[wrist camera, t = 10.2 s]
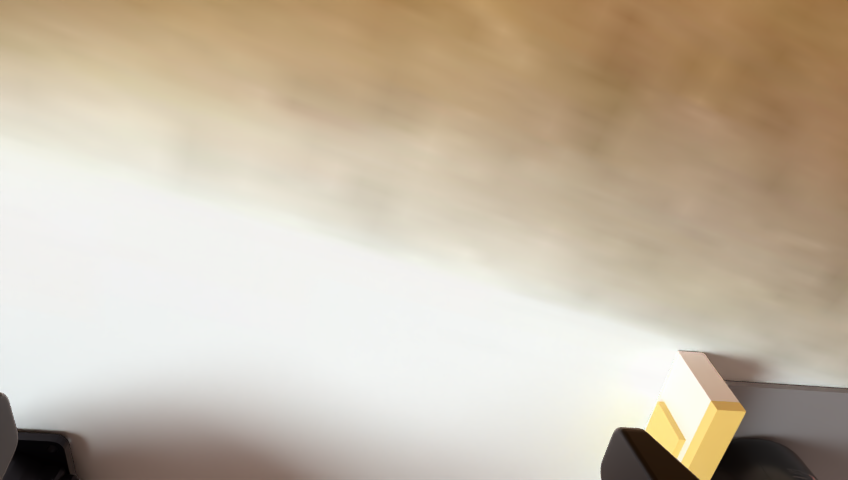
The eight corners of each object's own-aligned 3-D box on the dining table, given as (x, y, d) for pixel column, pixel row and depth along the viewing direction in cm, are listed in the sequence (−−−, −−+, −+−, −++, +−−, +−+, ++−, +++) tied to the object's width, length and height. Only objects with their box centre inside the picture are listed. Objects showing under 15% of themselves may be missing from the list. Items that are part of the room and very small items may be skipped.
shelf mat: (623, 545, 32) (625, 550, 32) (700, 379, 26) (703, 384, 26) (792, 550, 33) (795, 556, 33) (900, 392, 27) (905, 396, 27)
